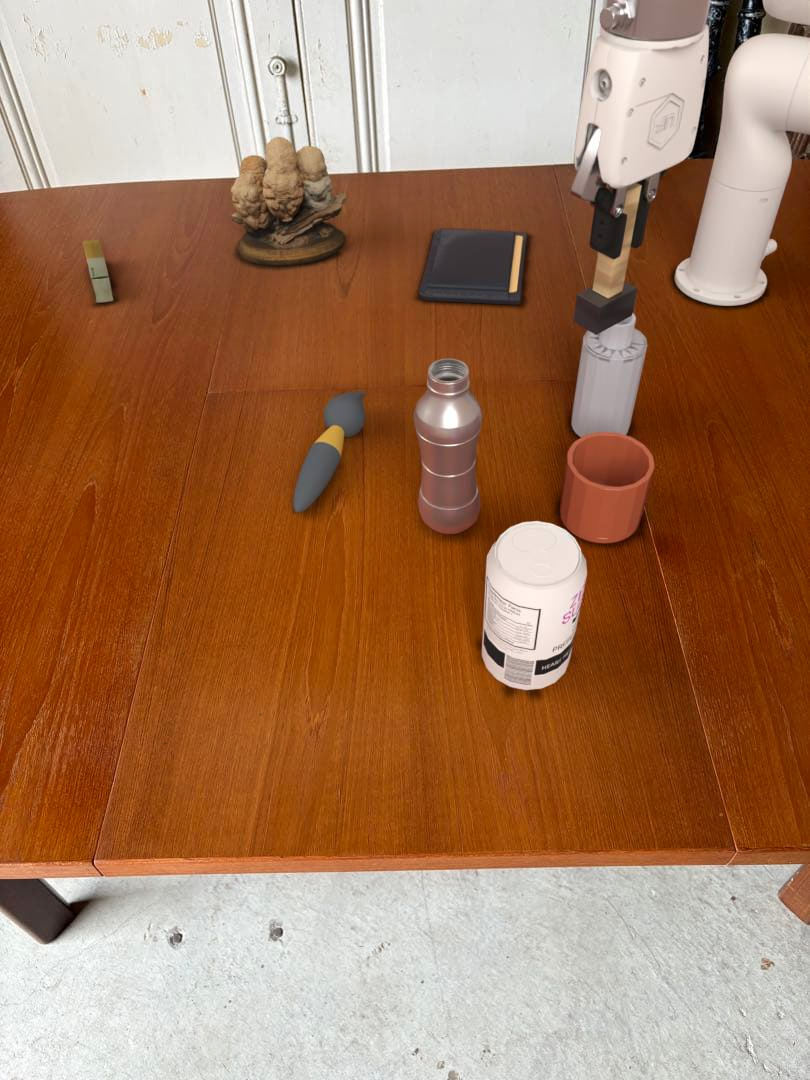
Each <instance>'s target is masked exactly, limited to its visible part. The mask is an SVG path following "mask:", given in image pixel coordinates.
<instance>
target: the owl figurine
mask: <svg viewBox="0 0 810 1080" xmlns="http://www.w3.org/2000/svg"><path fill="white" fill-rule="evenodd" d="M264 149H265V153H264V154H265V156H264V157H263V156H261V155H256V154H255V155H254V154H252V155H251V154H250V155H248V156H246V157H243V158H242V160H241V162H240V167H239V175H238V176H237V177H236V178H235V180H234V184H233V185H232V186H231V188H230V193H231V200H232V203H233V204H232V205H233V207H234V209H235V210H236V212H234V213H232V215H231V219H232V221H233V222H234V223H236V224H238V225H241V226H242V227H243V228H244V230H245V233H243V235H242V237H241V238H240V239H239V241H238V243H237V253H238V255H239V256H240V257H241V258H242V259H243V260H244V261H246V262H248V263H251V264H255V265H263V266H272V267H276V266H277V267H282V266H283V267H284V266H285V267H286V266H297V265H305V264H310V263H314V262H317V261H318V262H319V261H321V260H324V259H327V258H329V257H332V256H333V255H335V254H337V253H338V252H339V250H340V249H342V248H343V247H344V242H345V235H344V232H343V231H342V230H341V229H339V228H337V227H336V225H333V224H332V223H331V222H326V221H328V220H329V219H334V218H336V217H338V216H340V214H341V213H342V211H343V205H344V204H345V203H346V202H347V198H348V197H347V195H346V194H345V193H343V192H341V193H339V194H335V195H334V194H332V193H333V186H332V182H333V181H332V179H331V178H330V175H329V172H328V166H327V164H326V161H325V160H326V159H325V156H324V153H323V151H322V149H321V148H319V147H318V146H313V145H312V146H311V145H308V146H307V145H306V146H305V145H304V146H302V147H301V148H300V149H299V150H297V151H296V149H295V148H294V145H293V143H292V142H291V141H290V140H288V139H287V138H285V137H284V136H283V137H282V136H276V137H274V138H271V139H270V141H268V142H267V144H266V146H265V148H264Z"/></svg>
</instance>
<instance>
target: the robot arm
mask: <svg viewBox="0 0 810 1080" xmlns="http://www.w3.org/2000/svg"><path fill="white" fill-rule="evenodd" d="M711 2H712V0H602V7H601V9H602V10H601V11H600V13H599V24H600V25H599V35H598V36H597V37H596V39H595V43H594V46H593V49H592V53H591V56H590V60H589V64H588V69H587V74H586V76H585V77H586V78H585V82H584V87H583V92H582V96H581V101H580V106H579V112H578V118H577V126H576V133H575V140H574V151H573V153H574V155H573V163H574V168H575V171H576V174H575V176H574V180H573V182H572V185H571V187H570V194H571V195H572V196H574V197H576V198H578V199H580V200H581V201H585V202H586V201H587V202H589V204H590V206H591V207H592V208H594V209H593V215H592V223H591V231H590V236H589V247H590V248H591V249H592V250H594V251H595V252H597V253H598V252H600V253H602V254H604V255H606V256H607V257H609V258H611V259H616V258H618V257H620V255H621V250H622V245H623V239H624V233H625V227H626V222H627V214H624V213H622V212H623V210H624V205H625V199H626V194H627V188H628V186H630V185H632V184H634V183H637V184H640V185H641V192H640V197H639V203H638V208H637V213H636V219H635V224H634V230H633V235H632V241H631V247H630V248H633V249H638V248H640V247H642V246H643V244H644V243H643V242H644V237H645V232H646V228H647V227H646V226H647V221H648V216H649V212H650V206H651V202H653V201H654V199H655V198H656V197H657V193H658V188H659V185H660V184H659V183H660V181H661V180H662V178H663V177H664V176H665V174H666V172H667V170H668V169H670V168H672V167H674V166H677V165H678V164H680V163H681V162H683V161H685V159H687V158H688V157H689V156H690V154H691V153H692V152H693V149H694V145H695V141H696V139H697V138H696V137H697V133H698V128H699V122H700V118H701V112H702V107H703V99H704V93H705V86H706V78H707V71H708V70H707V69H708V62H709V61H708V60H709V46H710V26H709V25H708V24H707V21H708V16H709V11H710V7H711ZM762 5H763V8H764V10H765V13H767V14H768V15H769V17H773V18H775V19H777V20H780V21H784V22H788V23H793V24H799V25H805V26H810V0H762ZM722 100H723V101H722V113H721V120H720V129H719V135H718V140H717V144H716V150H715V153H714V154H715V155H714V158H713V162H712V166H711V171H710V174H709V177H708V178H709V179H708V182H707V187H706V190H705V195H704V200H703V204H702V208H701V212H700V215H699V221H698V225H697V228H696V233H695V237H694V242H693V246H692V250H691V254H690V257H688V258H686V259H684V260H682V261H681V262H680V263H679V264H678V265H677V267H676V269H675V272H674V283H675V285H676V286H677V288H678V289H679V290H680V291H681V292H682V293H683V294H685V295H686V296H688V297H689V298H691V299H693V300H696V301H698V302H701V303H704V304H708V305H713V306H722V307H733V306H742V305H746V304H749V303H753V302H754V301H756V300H758V299H759V298H760V297H762V296H763V294H764V293H765V291H766V288H767V285H768V278H767V275H766V274H765V272H764V271H763V270H762V269H761V266H762V262H763V261H764V259H765V258H766V257H768V256H769V255H770V254H772V253H774V252H775V251H777V249H778V243H777V242H776V240H775V239H773V238H770V237H771V234H772V231H773V228H774V225H775V221H776V218H777V215H778V211H779V209H780V205H781V203H782V199H783V196H784V193H785V190H786V186H787V183H788V180H789V177H790V174H791V171H792V163H793V158H792V157H793V155H792V153H793V152H792V148H791V144H790V141H789V137H788V135H787V133H786V132H793V133H797V134H798V133H799V134H803V135H809V136H810V37H809V36H802V35H796V34H795V35H794V34H787V33H774V32H772V33H762V34H758V35H755V36H752V37H750V38H748V39H746V40H745V41H743V42H742V43H741V44H740V45H739V46H738V47H737V48H736V50H735V51H734V53H733V55H732V57H731V59H730V61H729V63H728V67H727V70H726V74H725V79H724V88H723V98H722ZM608 185H610V187H612V188H613V192H612V193H611V192H610V190H609V189H608V187H607V186H608Z"/></svg>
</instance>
